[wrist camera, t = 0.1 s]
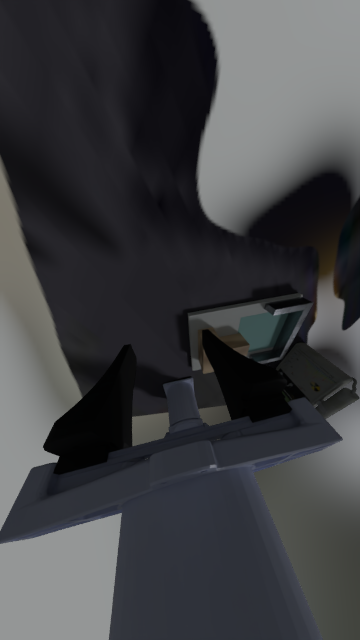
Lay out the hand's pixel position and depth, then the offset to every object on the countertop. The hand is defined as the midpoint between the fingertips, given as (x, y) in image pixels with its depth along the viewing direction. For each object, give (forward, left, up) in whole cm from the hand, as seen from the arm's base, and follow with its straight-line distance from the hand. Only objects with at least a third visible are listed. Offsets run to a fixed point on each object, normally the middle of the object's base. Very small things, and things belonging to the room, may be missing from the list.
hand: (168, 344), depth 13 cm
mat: (-11, -15, -10) cm, 21 cm away
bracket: (-11, -22, -9) cm, 26 cm away
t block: (-11, -10, -9) cm, 18 cm away
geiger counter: (-31, -32, -10) cm, 46 cm away
